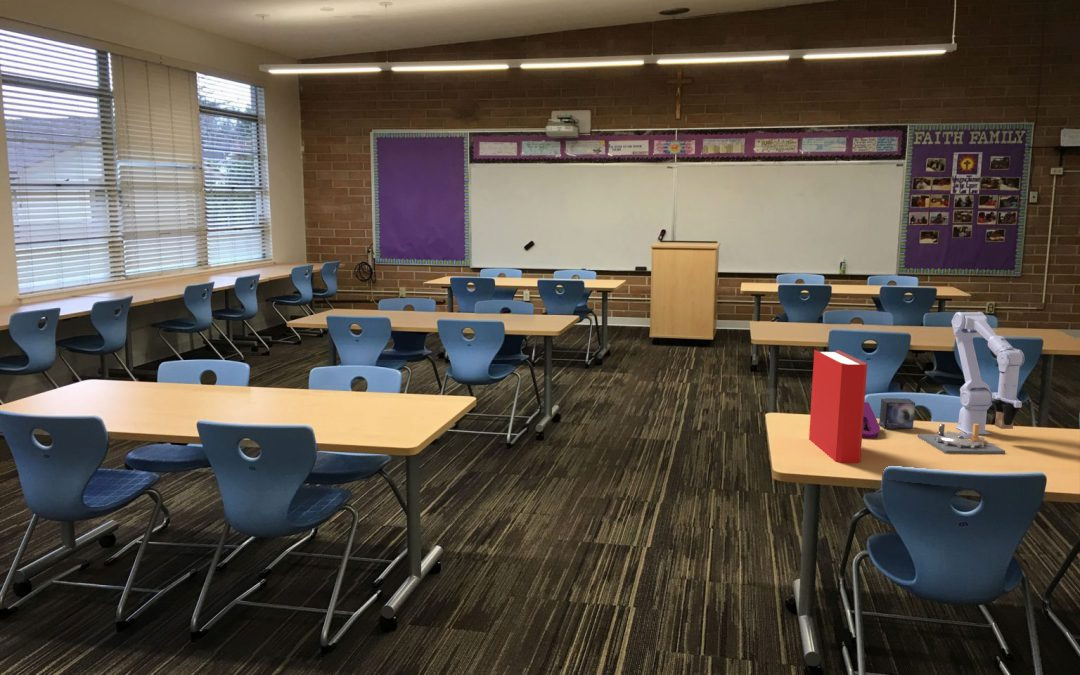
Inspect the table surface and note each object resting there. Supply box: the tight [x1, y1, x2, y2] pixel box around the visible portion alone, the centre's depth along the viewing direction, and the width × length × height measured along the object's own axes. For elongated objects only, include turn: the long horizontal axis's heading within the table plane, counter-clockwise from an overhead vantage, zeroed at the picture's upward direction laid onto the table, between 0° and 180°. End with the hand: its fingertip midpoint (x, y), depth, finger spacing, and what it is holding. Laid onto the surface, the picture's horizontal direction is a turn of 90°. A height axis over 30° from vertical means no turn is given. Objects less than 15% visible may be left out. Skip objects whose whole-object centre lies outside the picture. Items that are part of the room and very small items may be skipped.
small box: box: [878, 397, 916, 430], centre depth 314 cm, size 11×6×10 cm, turn 88°
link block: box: [994, 412, 1015, 430], centre depth 294 cm, size 4×4×5 cm
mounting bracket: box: [862, 401, 881, 439], centre depth 309 cm, size 10×8×18 cm
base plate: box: [917, 424, 1006, 455], centre depth 292 cm, size 20×20×6 cm
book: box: [808, 349, 868, 464], centre depth 282 cm, size 27×8×32 cm, turn 1°
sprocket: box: [934, 423, 988, 448], centre depth 292 cm, size 16×16×5 cm
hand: (1004, 423), depth 294 cm, fingers closed on link block, 4 cm apart
